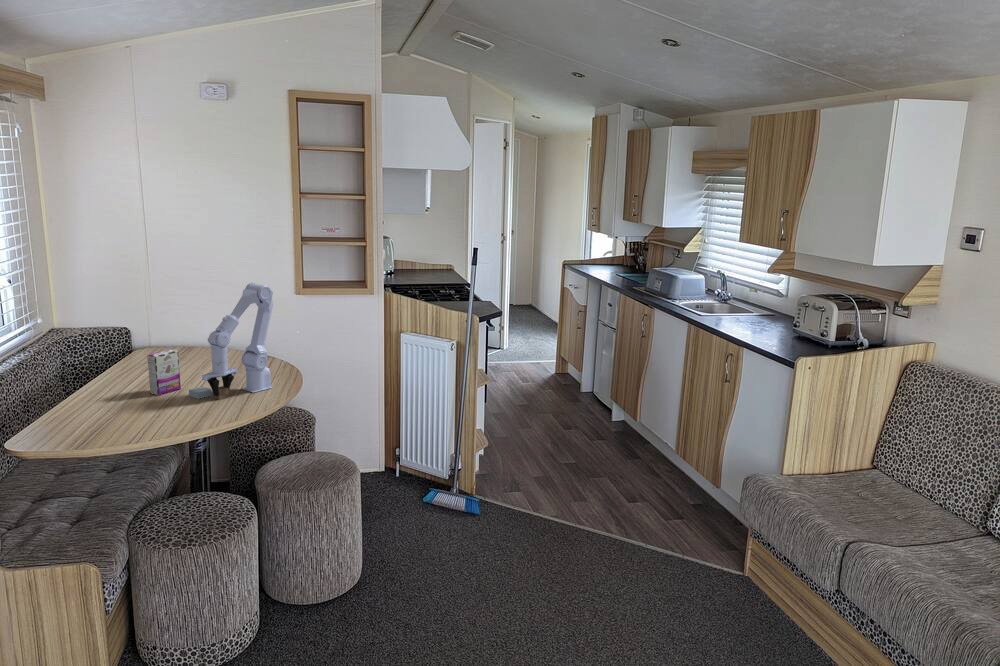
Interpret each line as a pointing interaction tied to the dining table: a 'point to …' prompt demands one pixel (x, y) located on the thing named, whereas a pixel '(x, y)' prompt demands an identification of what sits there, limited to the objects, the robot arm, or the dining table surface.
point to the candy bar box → (164, 372)
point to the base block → (200, 392)
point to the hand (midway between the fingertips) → (221, 394)
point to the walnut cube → (222, 393)
